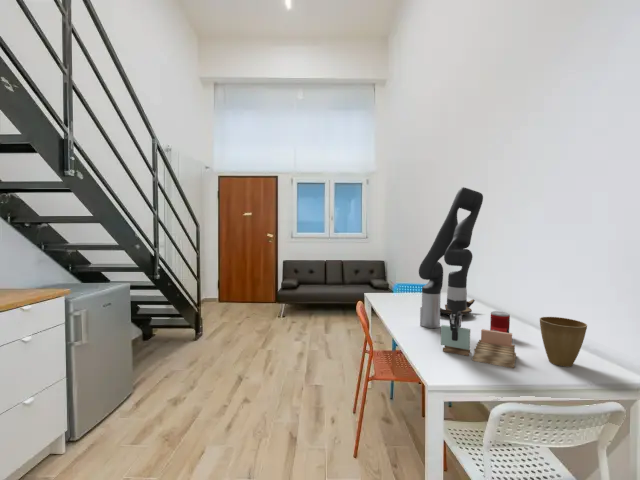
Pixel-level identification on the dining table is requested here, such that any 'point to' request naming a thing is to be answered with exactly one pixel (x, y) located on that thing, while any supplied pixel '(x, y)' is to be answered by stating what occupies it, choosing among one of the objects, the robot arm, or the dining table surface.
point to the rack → (495, 354)
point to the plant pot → (562, 339)
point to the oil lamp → (461, 311)
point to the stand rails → (456, 350)
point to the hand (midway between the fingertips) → (455, 339)
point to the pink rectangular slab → (496, 337)
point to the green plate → (463, 337)
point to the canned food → (500, 321)
